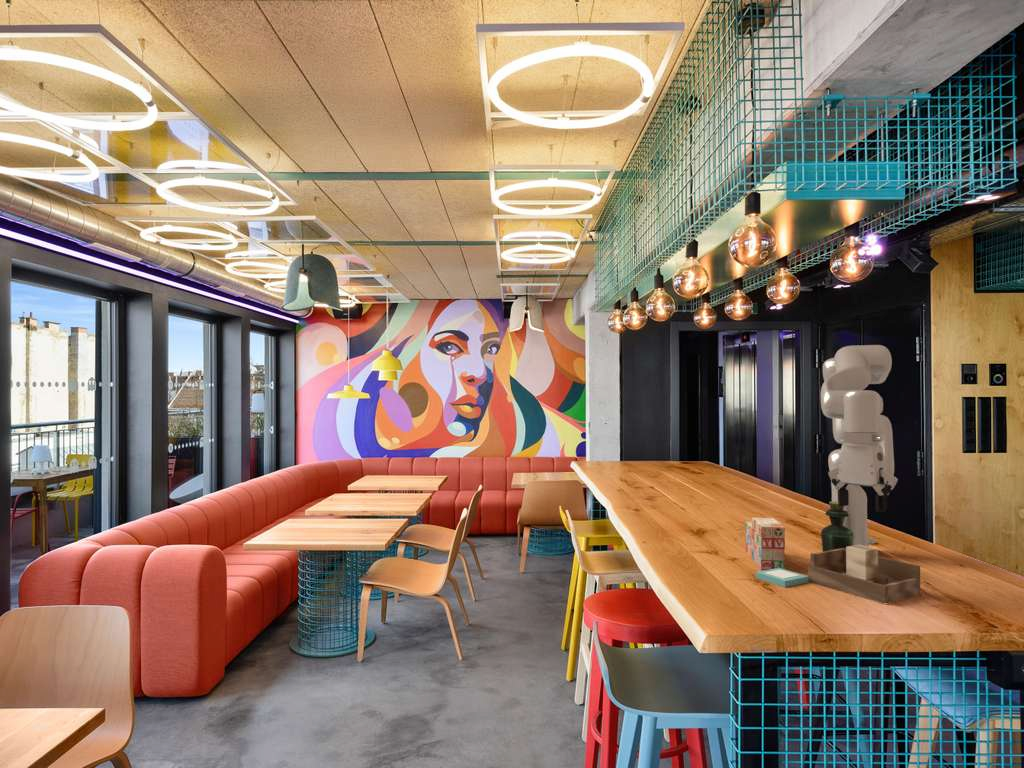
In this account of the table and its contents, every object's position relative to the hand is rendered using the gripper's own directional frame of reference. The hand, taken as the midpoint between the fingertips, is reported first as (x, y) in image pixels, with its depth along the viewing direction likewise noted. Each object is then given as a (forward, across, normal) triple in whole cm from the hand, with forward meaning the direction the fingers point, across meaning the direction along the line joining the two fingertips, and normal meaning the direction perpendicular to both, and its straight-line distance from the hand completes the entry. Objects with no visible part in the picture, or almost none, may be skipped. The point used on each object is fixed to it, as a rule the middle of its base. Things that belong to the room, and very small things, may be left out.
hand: (861, 508), depth 156 cm
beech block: (+17, 0, -1) cm, 17 cm away
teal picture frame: (+20, +15, +11) cm, 27 cm away
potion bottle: (+20, +16, -13) cm, 28 cm away
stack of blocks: (+20, +30, -1) cm, 36 cm away
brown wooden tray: (+20, +1, -1) cm, 20 cm away
